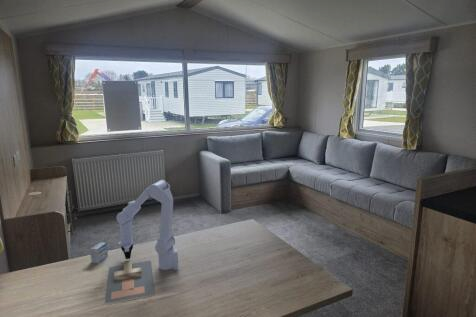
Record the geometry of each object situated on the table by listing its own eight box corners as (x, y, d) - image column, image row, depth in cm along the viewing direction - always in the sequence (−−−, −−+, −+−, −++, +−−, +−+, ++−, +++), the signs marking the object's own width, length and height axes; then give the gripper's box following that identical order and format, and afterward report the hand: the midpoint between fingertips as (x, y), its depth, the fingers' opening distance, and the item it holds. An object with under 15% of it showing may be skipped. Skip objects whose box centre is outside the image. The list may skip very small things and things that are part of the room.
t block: (140, 263, 157) (140, 259, 156) (141, 275, 146) (141, 271, 145) (115, 267, 153) (114, 263, 152) (114, 280, 142) (113, 275, 142)
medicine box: (99, 265, 157) (97, 249, 155) (91, 264, 158) (89, 248, 156) (108, 257, 165) (107, 242, 163) (100, 256, 166) (99, 241, 164)
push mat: (150, 262, 160) (150, 260, 160) (155, 295, 133) (155, 293, 133) (109, 269, 154) (109, 267, 153) (104, 305, 127) (104, 303, 126)
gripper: (118, 229, 163) (120, 252, 165) (117, 240, 149) (119, 266, 152) (132, 227, 165) (134, 250, 167) (132, 238, 151) (134, 264, 154)
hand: (128, 258), depth 160 cm, fingers closed
